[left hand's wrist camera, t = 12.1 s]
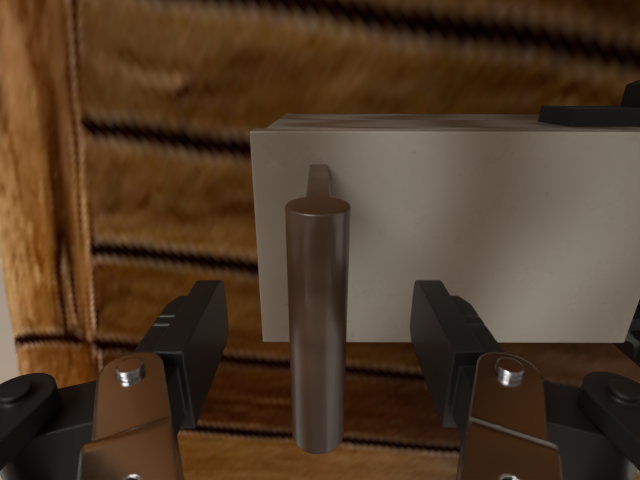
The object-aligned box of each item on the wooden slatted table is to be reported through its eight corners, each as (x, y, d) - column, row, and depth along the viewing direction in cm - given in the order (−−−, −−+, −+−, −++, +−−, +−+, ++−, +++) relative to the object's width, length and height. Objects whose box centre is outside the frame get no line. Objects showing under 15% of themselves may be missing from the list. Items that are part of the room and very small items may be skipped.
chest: (289, 252, 28) (275, 327, 19) (285, 113, 24) (265, 127, 16) (517, 253, 28) (606, 329, 19) (546, 114, 24) (673, 128, 16)
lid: (266, 328, 19) (231, 480, 12) (253, 128, 16) (193, 164, 8) (607, 329, 19) (789, 482, 12) (675, 129, 16) (998, 167, 8)
